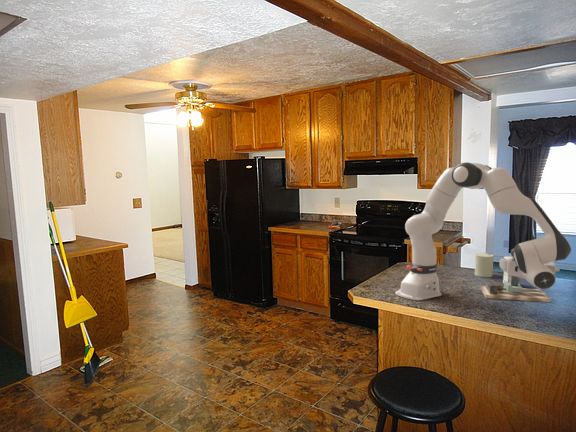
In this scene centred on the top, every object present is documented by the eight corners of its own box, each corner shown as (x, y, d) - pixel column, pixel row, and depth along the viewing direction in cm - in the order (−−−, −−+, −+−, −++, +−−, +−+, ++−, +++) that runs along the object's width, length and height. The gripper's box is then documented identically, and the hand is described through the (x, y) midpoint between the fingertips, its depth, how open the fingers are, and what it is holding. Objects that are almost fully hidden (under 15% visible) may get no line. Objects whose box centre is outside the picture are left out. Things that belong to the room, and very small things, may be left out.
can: (496, 276, 217) (497, 255, 215) (481, 277, 215) (482, 256, 214) (485, 272, 226) (486, 251, 224) (471, 273, 224) (471, 252, 223)
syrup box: (514, 283, 204) (515, 255, 202) (519, 286, 198) (520, 258, 196) (502, 283, 205) (503, 255, 203) (507, 286, 199) (508, 258, 197)
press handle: (518, 287, 188) (519, 246, 186) (522, 292, 180) (524, 250, 178) (504, 286, 190) (505, 246, 187) (508, 291, 182) (509, 249, 180)
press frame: (540, 292, 188) (540, 281, 188) (550, 302, 175) (550, 290, 174) (480, 288, 196) (480, 278, 195) (485, 298, 182) (486, 286, 182)
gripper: (562, 263, 155) (550, 255, 168) (504, 260, 161) (497, 252, 174) (560, 278, 156) (548, 269, 169) (503, 274, 162) (496, 266, 175)
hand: (522, 261), depth 172 cm, fingers open, 8 cm apart
